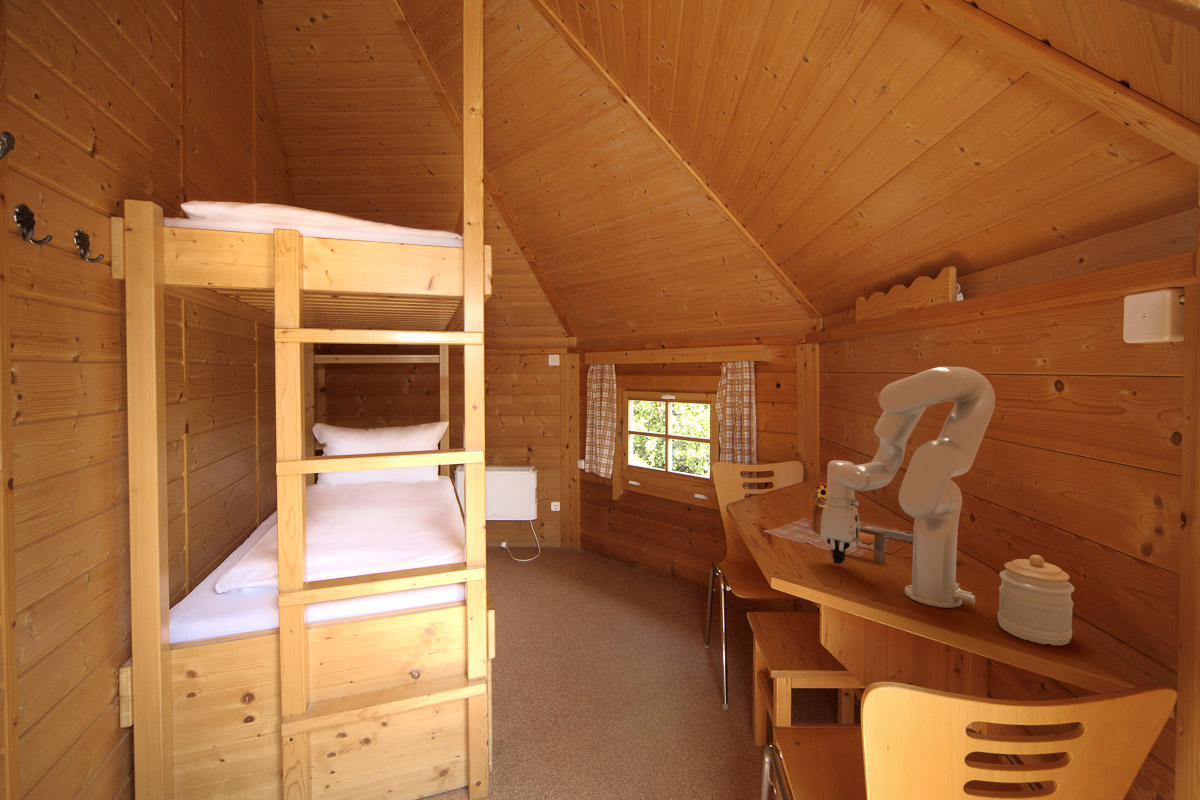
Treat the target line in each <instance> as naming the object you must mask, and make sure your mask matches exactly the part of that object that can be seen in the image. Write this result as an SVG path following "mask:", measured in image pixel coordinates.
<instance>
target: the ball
mask: <svg viewBox="0 0 1200 800" xmlns="http://www.w3.org/2000/svg"><path fill="white" fill-rule="evenodd" d="M866 527H867V528H870V527H868V526H866ZM874 538H875V535H870V534H866V533H861V532H860V537H859V540H860V541H861V542H862V543H863V544H867V545H871V544H873V543H874Z"/></svg>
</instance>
